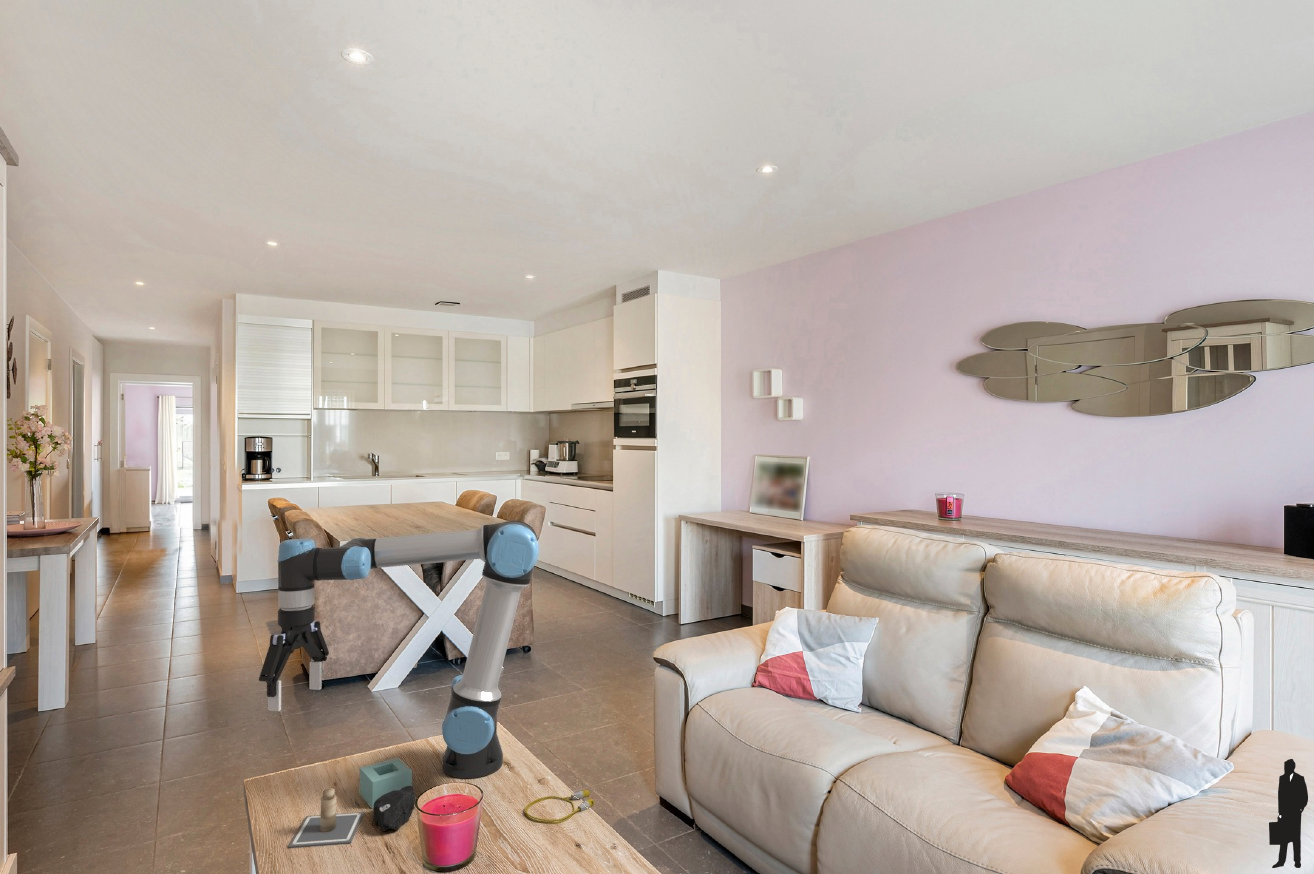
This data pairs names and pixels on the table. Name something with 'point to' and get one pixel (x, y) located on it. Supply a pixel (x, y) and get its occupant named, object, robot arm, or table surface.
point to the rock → (394, 808)
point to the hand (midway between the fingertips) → (295, 699)
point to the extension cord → (578, 794)
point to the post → (328, 811)
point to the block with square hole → (383, 779)
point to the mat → (314, 837)
